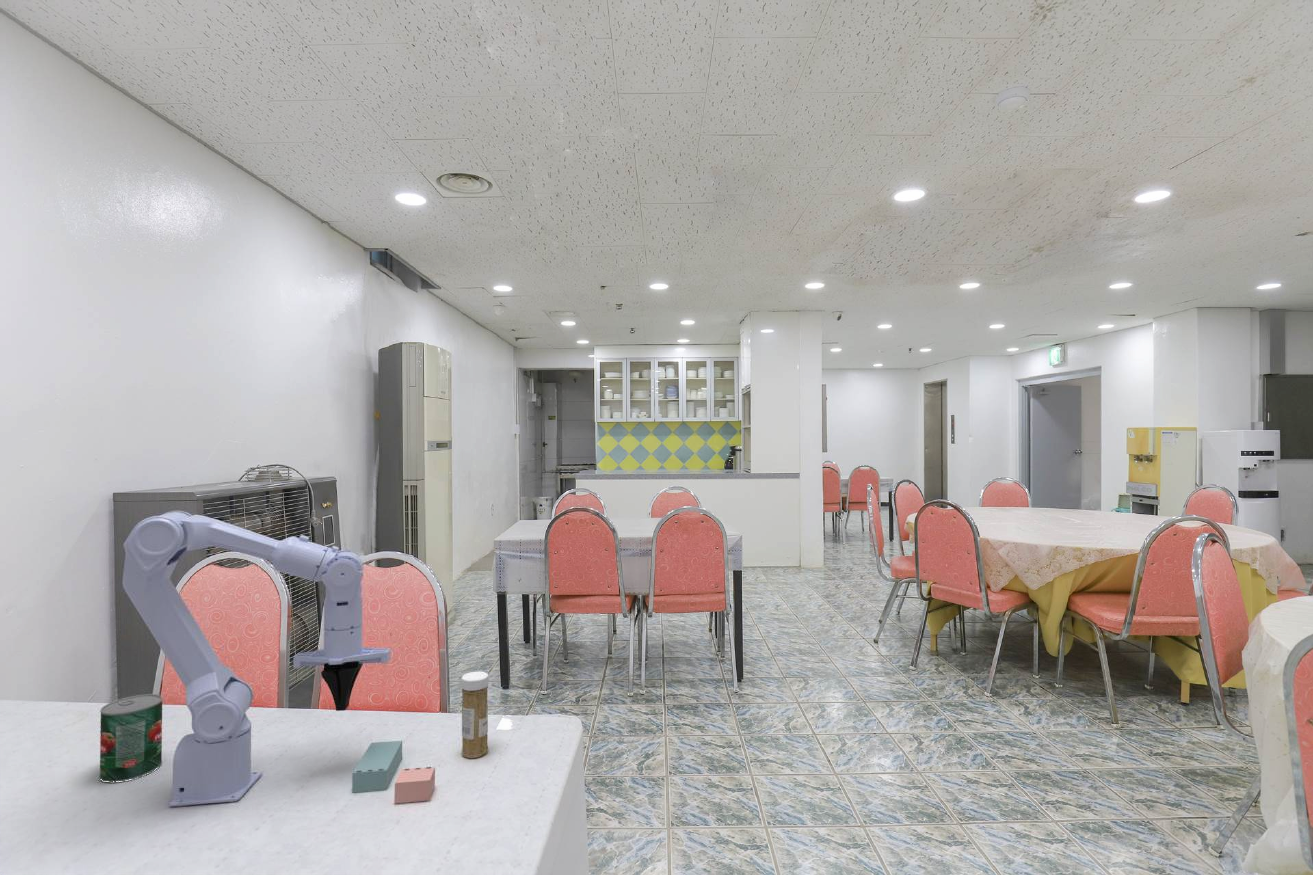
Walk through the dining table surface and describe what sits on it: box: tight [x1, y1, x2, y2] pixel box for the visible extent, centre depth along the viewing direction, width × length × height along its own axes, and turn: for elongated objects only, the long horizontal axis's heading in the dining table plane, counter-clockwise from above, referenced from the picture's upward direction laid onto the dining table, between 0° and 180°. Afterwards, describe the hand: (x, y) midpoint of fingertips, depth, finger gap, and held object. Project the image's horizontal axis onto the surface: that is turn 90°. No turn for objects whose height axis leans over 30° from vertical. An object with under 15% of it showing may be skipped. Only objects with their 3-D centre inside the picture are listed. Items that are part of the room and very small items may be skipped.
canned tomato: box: [99, 693, 164, 782], centre depth 103 cm, size 8×8×11 cm
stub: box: [394, 766, 436, 804], centre depth 95 cm, size 5×4×3 cm
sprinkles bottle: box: [460, 671, 490, 759], centre depth 109 cm, size 5×5×14 cm
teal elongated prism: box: [351, 740, 403, 793], centre depth 101 cm, size 5×10×3 cm, turn 9°
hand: (342, 708), depth 103 cm, fingers closed
